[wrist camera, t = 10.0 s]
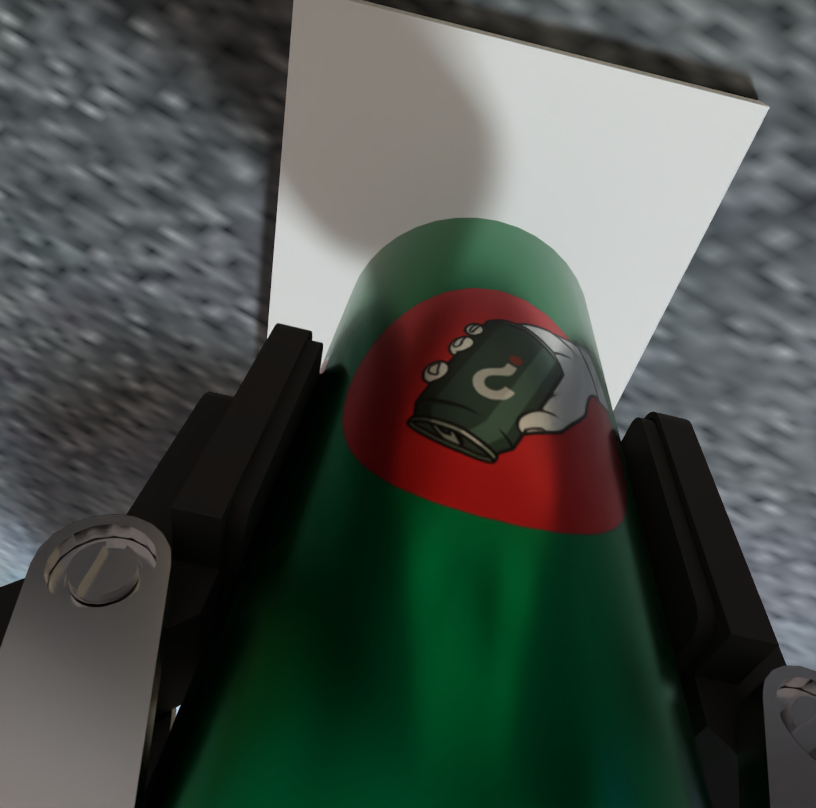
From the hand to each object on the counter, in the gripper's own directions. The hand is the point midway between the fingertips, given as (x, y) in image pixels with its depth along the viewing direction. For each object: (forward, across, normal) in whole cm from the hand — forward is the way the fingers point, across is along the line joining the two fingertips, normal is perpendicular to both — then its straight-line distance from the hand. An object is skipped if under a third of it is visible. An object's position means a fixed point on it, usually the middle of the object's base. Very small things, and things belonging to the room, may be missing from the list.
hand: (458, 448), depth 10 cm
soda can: (+5, 0, 0) cm, 5 cm away
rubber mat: (+8, 0, 0) cm, 8 cm away
